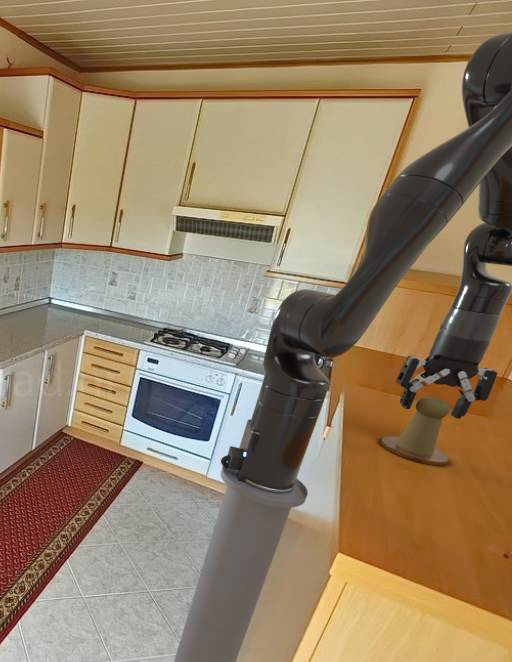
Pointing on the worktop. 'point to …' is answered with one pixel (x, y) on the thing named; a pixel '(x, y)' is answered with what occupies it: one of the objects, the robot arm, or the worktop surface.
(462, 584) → the worktop surface
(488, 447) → the worktop surface
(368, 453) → the worktop surface
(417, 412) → the cork
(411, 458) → the disc
